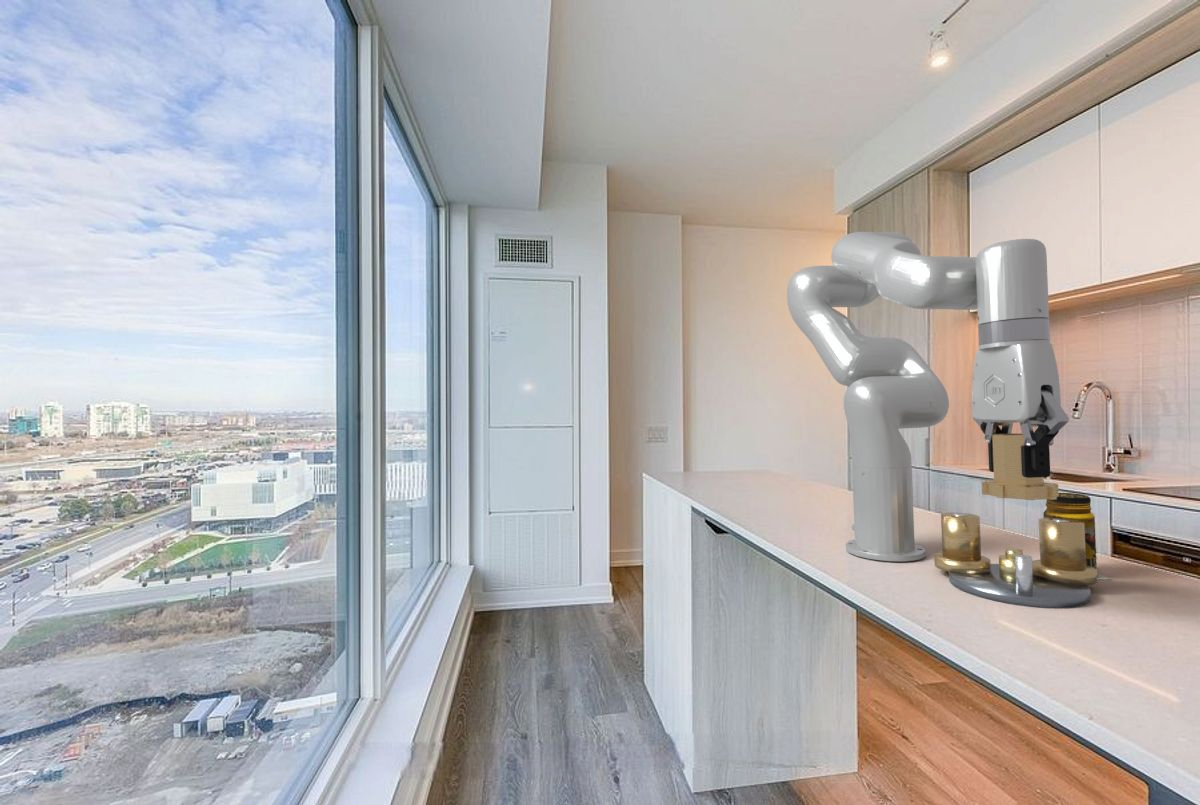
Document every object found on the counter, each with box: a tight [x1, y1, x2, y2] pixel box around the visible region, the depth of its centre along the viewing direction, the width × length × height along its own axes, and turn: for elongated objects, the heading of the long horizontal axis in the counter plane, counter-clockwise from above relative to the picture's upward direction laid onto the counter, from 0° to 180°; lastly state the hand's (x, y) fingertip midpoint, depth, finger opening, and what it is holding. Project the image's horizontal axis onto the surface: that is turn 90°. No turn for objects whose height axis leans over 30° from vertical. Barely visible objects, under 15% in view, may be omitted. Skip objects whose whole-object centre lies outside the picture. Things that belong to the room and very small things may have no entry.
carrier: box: [933, 512, 1098, 609], centre depth 79 cm, size 18×19×9 cm
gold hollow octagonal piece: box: [981, 432, 1060, 501], centre depth 72 cm, size 8×8×8 cm
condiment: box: [1042, 492, 1112, 581], centre depth 85 cm, size 7×8×12 cm
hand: (1018, 472), depth 72 cm, fingers closed on gold hollow octagonal piece, 5 cm apart
